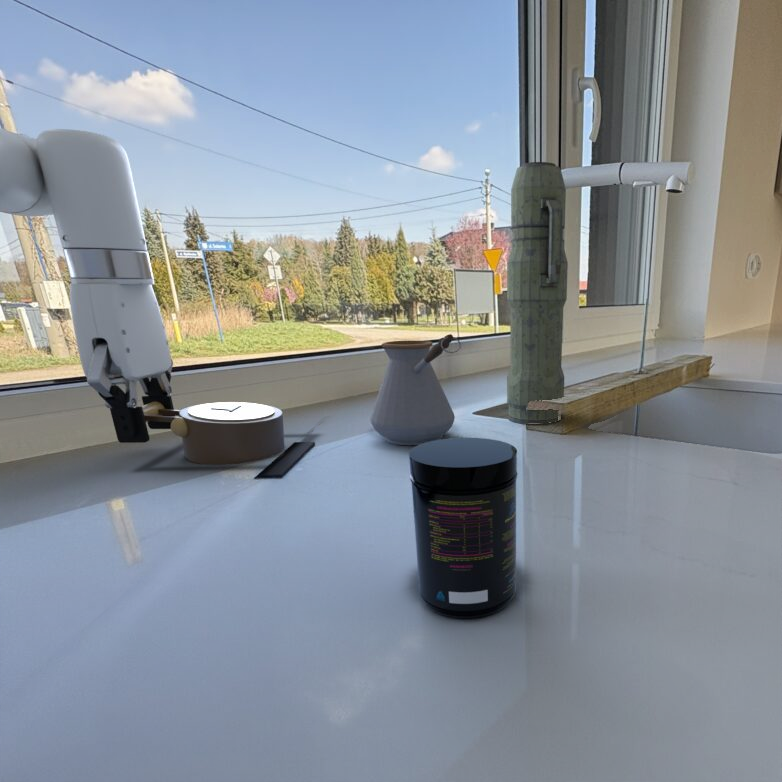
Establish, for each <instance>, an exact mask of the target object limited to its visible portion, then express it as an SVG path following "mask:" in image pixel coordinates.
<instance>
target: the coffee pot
mask: <svg viewBox="0 0 782 782" xmlns="http://www.w3.org/2000/svg"><path fill="white" fill-rule="evenodd" d="M453 339H454V340H456V341H457V342H458V345H459V347H458V349H456V350H454V351H448V350H447V349H448V348H449V347H450V344H451V343H452V341H453ZM380 346H381V348H383V349H384V351H385V353H386V355H387V357H388V358H389V360H388V363H387V366H386V369H385V373H384V376H383V378H382V381H381V385H380V387H379V391H378V394H377V397H376V400H375V403H374V406H373V409H372V412H371V415H370V420H369V421H370V423H371V425H372V428H373V429H374V431H375V432H376V433H378V434H379V435H380V436H381V437H383V438H385V440H386V442H388V443H390V444H394V445H401V446H418V445H420V444H423V443H426V442H430V441H435V440H441V439H443V435H446V434H447V433H448V432H449V431H450V430H451V428H452V427H453V424H454V423H455V419H456V417H455V413H454V410H453V409H452V407H451V404H450V401H449V400H448V397H447V396H446V394H445V391H444V390H443V387H442V385H441V383H440V381H439V378H438V376H437V374H436V372H435V370H434V368H433V365H432V361H433V360H435V359H436V358H438V357H439V356H440V355H442V354H443V352H446V353H448V354H455V353H457V352H458V351H459V350H461V348H462V347H461V346H462V343H461V342H460V340H459V339H458V338H457V337H455V336H453V334H452V333H450V334H447V335H445V336H443V337H441V338H439V340H438V342H437V343H435V344H434V343H433V342H432V341H428V340H394V341H386V342H383V343H381V345H380Z"/></svg>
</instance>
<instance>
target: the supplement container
mask: <svg viewBox="0 0 782 782" xmlns="http://www.w3.org/2000/svg"><path fill="white" fill-rule="evenodd" d="M408 458H409V471H410V472H409V473H410V474H409V478H410V479H409V481H410V482H411V493H412V509H413V522H414V536H415V550H416V565H417V577H418V579H417V580H418V593H419V596H420V598H421V600H422V602H423V603H424V605H425V606H426V607H427V608H428V609H430V610H431V611H432V612H434V613H435V614H437V615H440V616H443V617H446V618H451V619H458V620H472V619H481V618H484V617H489V616H491V615H494V614H496V613H498V612H500V611H502V610H504V608H505V607H507V606H508V605H509V604H510V602H511V601H512V600H513V598H514V596H515V595H516V591H517V479H518V450H517V448H516V447H515V446H514V445H513V444H510V443H509V442H505V441H502V440H497V439H492V438H485V437H484V438H483V437H451V438H450V437H449V438H441V439H440V440H435V441H430V442H426V443H423V444H420V445H415V446H414V447H412V448H411V449H410V450H409V452H408Z"/></svg>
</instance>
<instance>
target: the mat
mask: <svg viewBox="0 0 782 782" xmlns="http://www.w3.org/2000/svg"><path fill="white" fill-rule="evenodd" d="M315 445H316V442H315V441H294V442H293V443H291V444H290V446H288V447H287V448H286V449H284V451H285V453H284V455H283V456H282V457H280V458H279V459H276V458H275V459H276V460H275V459H273V461H272V462H270V463H269V464H268V465H267V466H266V467H264V469H262V470H261V471H260V472H259V473H257V474H256V476H254V477H253V479H282V478H284V477H285V476H286V475H287V473H289V472H290V471H291V469H292V468H293V467H294V466H295V465H296V464H297V463H299V462H300V460H301V459H302V458H303V457H304V456H306V454H307V453H309V452H310V450H311V449H312V448H313V447H314V446H315Z"/></svg>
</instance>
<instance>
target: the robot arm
mask: <svg viewBox="0 0 782 782" xmlns="http://www.w3.org/2000/svg"><path fill="white" fill-rule="evenodd" d="M138 201H139V200H138V197H137V192H136V188H135V183H134V178H133V173H132V168H131V164H130V160H129V156H128V153H127V151H126V149H125V148H124V147H123V145H122V144H121V143H120V142H118V141H117V140H116V139H114V138H111V137H109V136H107V135H104V134H101V133H97V132H91V131H88V130H87V131H86V130H79V129H69V128H54V129H53V128H52V129H48V130H43V131H42V132H40V133H39V134H38V136H37V138H34V137H28V136H25V135H21V134H18V133H16V132H13V131H10V130H7V129H5V128H3V127H1V126H0V213H4V214H9V215H13V216H19V217H43V216H45V217H46V216H52V215H53V218H54V221H55V225H56V229H57V233H58V236H59V241H60V244H61V248H62V253H63V255H64V260H65V263H66V267H67V271H68V276H69V278H70V283H69V302H70V303H69V304H70V312H71V319H72V325H73V330H74V336H75V341H76V346H77V351H78V355H79V359H80V364H81V369H82V371H83V374H84V376H85V377H86V382H87V384H88V385H89V386H90V387H91V388H92V389H94V391H95V392H97V393H98V395H99V397H101V399H103V400H104V405H105V407H106V408H107V409H109V410H110V415H111V418H112V423H113V426H114V430H115V434H116V438H117V441H118V442H119V443H121V444H122V443H123V444H126V443H127V444H130V443H131V444H143V443H145V444H146V443H147V442H149V441H150V434H149V430H148V428H149V429H151V430H171V423H172V422H159V421H148V422H146V421H145V417H144V413H143V408H142V407H141V406H138V384H137V381H138V382H139V384H140V386H141V389H142V392H143V393H144V395H142V396H141V400H142V406H143V405H146V404H149V403H152V402H159V403H161V404H162V405H163V406H164V408H165V409H172V410H175V408H174V404H173V397H172V394H173V389H172V386H171V384H170V383H171V380H172V374H171V373H172V370H173V366H174V361H173V359H172V356H171V349H170V345H169V339H168V335H167V331H166V327H165V323H164V320H163V316H162V311H161V309H160V306H159V303H158V299H157V297H156V293H155V291H154V287H153V285H155V279H154V274H153V270H152V265H151V259H150V255H149V252H148V245H147V241H146V237H145V231H144V225H143V220H142V217H141V212H140V211H141V210H140V207H139V202H138ZM120 376H121V377H120ZM120 386H124V387H125V388H124V390H125V391H124V390H123V389H122V388H121V387H120ZM162 416H173V415H162ZM174 417H176V416H174Z"/></svg>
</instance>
